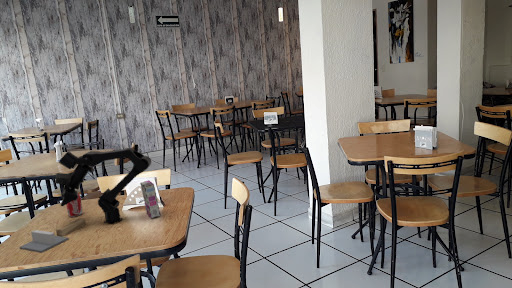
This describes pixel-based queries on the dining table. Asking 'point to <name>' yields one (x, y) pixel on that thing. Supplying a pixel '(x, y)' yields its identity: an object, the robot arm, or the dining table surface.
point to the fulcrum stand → (43, 241)
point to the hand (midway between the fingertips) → (61, 200)
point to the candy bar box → (150, 199)
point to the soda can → (75, 207)
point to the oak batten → (70, 227)
